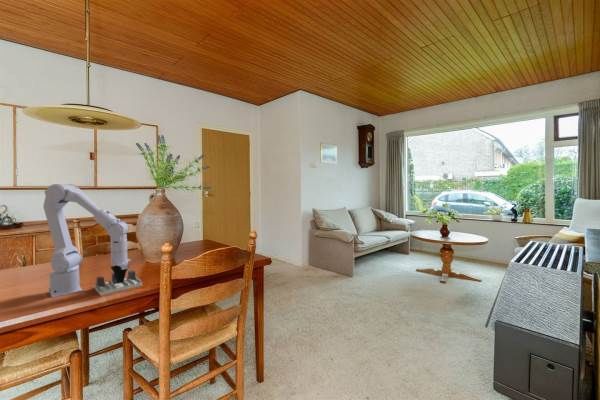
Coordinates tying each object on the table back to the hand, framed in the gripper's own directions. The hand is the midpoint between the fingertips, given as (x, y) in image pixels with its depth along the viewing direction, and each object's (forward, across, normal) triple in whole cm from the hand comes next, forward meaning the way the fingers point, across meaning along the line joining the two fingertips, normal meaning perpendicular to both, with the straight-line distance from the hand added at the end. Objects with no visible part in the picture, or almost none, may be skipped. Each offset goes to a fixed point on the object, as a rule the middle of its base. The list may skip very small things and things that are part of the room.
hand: (120, 282), depth 117 cm
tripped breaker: (+1, +5, 0) cm, 5 cm away
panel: (+2, +2, 0) cm, 3 cm away
